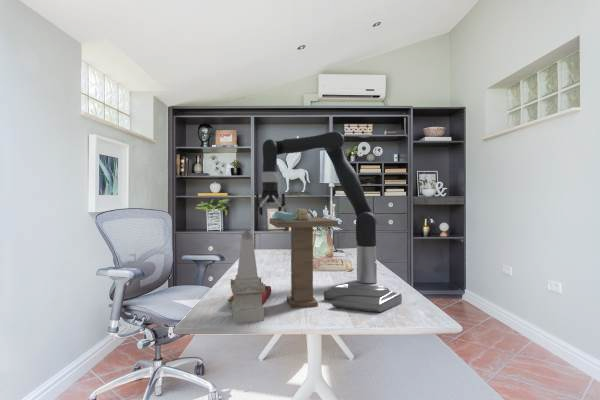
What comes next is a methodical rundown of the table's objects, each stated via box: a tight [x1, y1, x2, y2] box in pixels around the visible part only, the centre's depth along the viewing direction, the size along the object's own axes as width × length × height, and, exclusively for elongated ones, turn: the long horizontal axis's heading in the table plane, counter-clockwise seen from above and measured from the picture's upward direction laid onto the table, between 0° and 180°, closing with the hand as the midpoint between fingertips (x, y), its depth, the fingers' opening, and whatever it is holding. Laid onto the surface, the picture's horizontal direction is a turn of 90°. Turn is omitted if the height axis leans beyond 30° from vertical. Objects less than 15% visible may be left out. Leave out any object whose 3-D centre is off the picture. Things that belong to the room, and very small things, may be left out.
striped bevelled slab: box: [323, 283, 403, 313], centre depth 134 cm, size 28×5×28 cm
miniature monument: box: [230, 228, 266, 325], centre depth 117 cm, size 10×10×30 cm
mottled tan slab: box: [313, 257, 355, 273], centre depth 203 cm, size 28×6×30 cm
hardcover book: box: [227, 285, 272, 310], centre depth 135 cm, size 12×21×4 cm, turn 174°
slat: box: [274, 210, 295, 221], centre depth 137 cm, size 28×3×2 cm, turn 12°
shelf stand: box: [269, 208, 339, 309], centre depth 132 cm, size 22×22×36 cm
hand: (270, 215), depth 167 cm, fingers open, 8 cm apart
